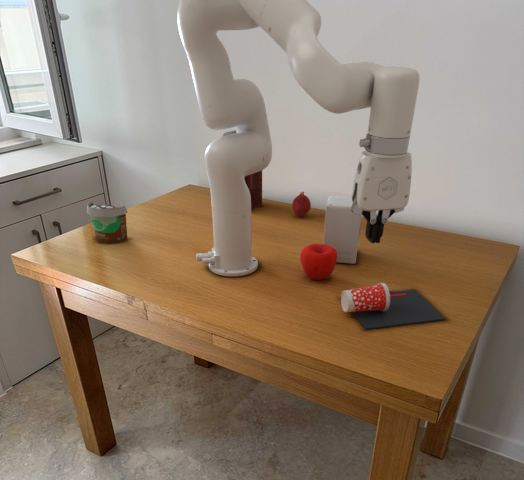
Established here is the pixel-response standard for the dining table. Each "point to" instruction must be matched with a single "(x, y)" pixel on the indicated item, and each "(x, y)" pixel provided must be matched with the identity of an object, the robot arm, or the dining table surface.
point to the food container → (108, 222)
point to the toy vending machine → (253, 184)
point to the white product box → (342, 228)
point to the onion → (301, 204)
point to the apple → (318, 260)
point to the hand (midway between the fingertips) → (372, 240)
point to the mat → (400, 312)
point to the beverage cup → (367, 298)
